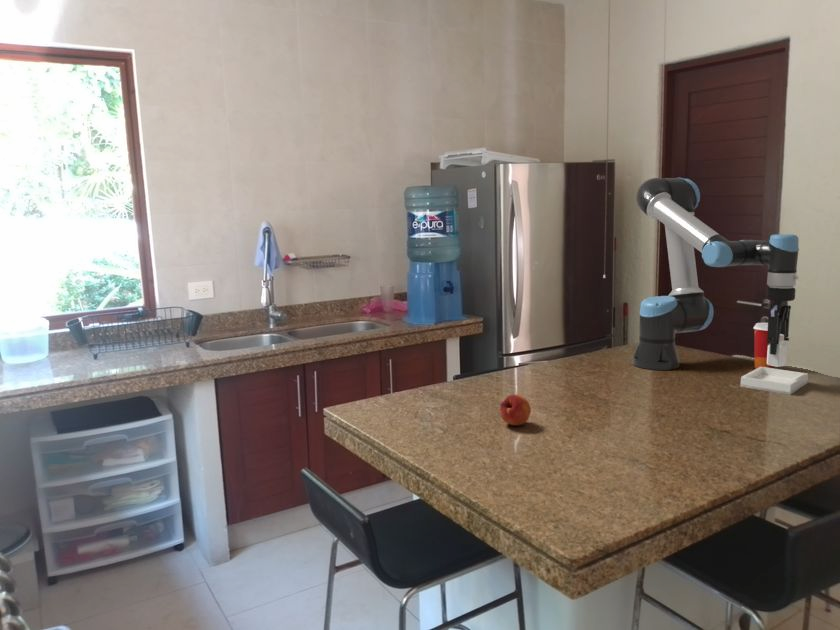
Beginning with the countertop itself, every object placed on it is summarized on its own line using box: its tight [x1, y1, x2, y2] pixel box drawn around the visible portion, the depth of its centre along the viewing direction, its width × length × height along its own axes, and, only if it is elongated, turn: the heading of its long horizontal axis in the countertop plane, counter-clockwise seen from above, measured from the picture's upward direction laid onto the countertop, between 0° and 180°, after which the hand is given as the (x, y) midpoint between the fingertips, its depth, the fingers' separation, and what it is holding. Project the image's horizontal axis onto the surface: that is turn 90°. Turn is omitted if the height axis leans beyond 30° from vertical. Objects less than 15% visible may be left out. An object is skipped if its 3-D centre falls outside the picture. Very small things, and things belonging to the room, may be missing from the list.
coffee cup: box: [753, 322, 776, 369], centre depth 222 cm, size 8×8×15 cm
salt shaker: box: [767, 334, 788, 368], centre depth 201 cm, size 4×4×10 cm
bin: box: [740, 367, 809, 396], centre depth 202 cm, size 14×18×3 cm
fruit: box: [499, 394, 532, 426], centre depth 168 cm, size 8×8×8 cm
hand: (776, 363), depth 201 cm, fingers closed on salt shaker, 5 cm apart
